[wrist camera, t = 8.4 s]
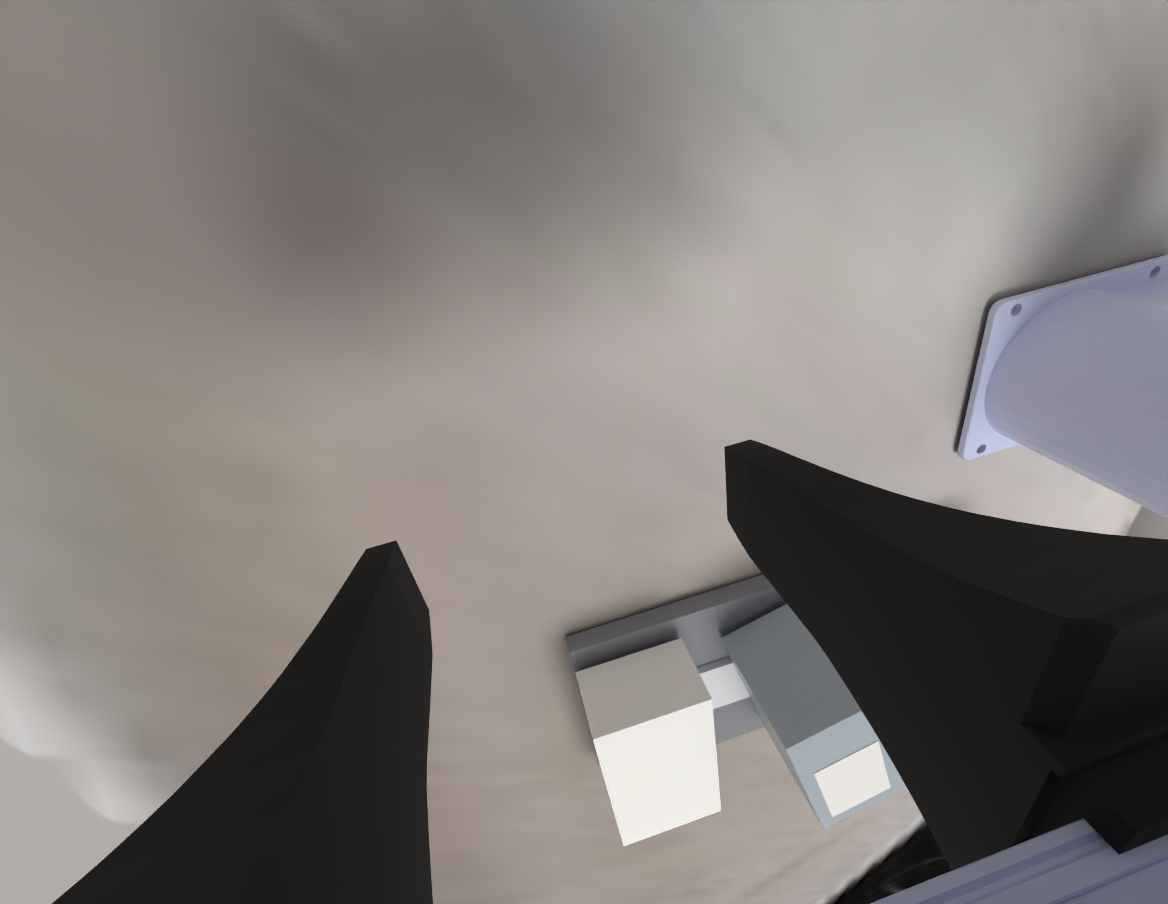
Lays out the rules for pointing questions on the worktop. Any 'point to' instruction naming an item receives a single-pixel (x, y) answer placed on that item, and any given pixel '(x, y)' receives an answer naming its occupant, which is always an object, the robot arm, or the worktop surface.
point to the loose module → (812, 717)
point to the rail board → (694, 634)
